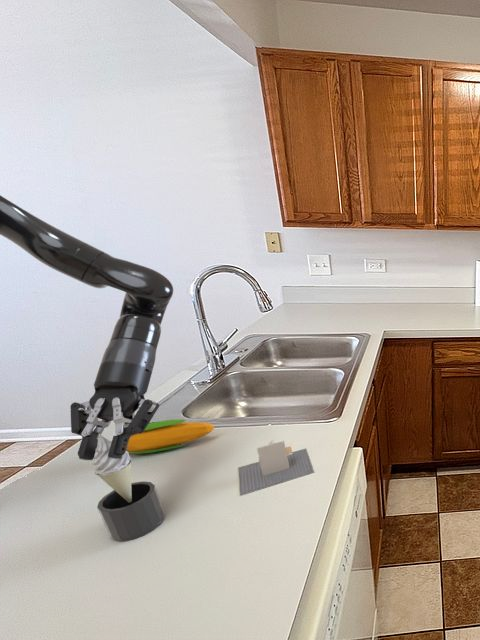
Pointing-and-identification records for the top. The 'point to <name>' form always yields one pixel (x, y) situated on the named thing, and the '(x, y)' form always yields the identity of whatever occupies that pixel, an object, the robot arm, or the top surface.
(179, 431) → the corn
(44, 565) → the top surface
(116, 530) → the cone holder
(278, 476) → the architectural model
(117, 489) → the ice cream cone
